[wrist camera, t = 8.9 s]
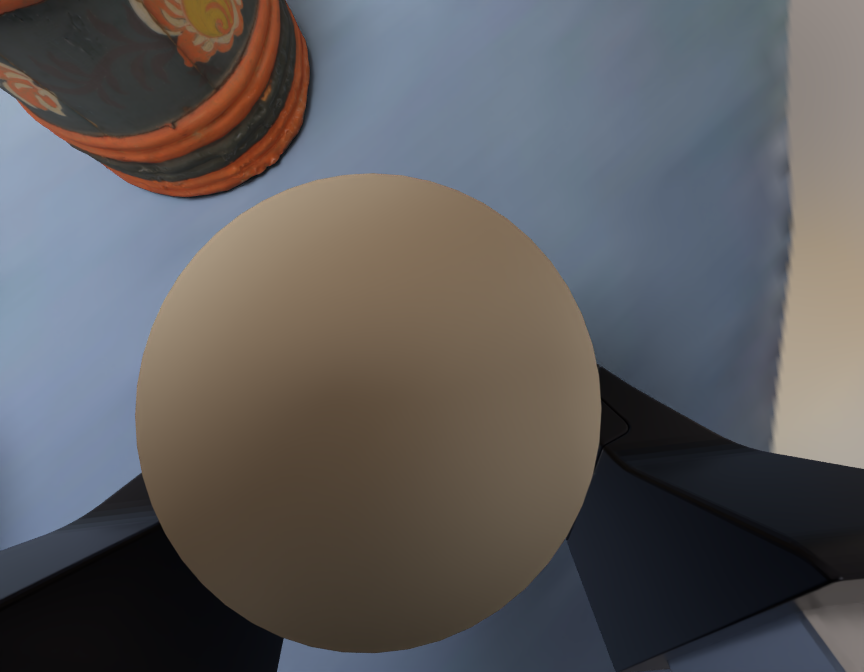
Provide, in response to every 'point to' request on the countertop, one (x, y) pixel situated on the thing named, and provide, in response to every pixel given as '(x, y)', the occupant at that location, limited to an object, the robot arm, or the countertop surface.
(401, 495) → the knob post
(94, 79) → the beer stein
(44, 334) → the countertop surface
